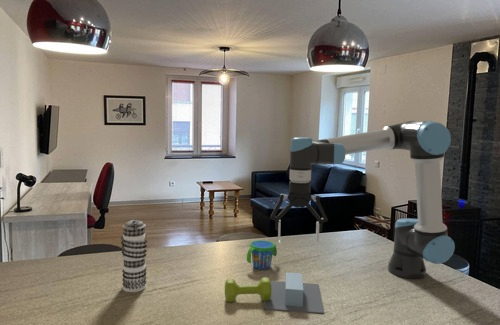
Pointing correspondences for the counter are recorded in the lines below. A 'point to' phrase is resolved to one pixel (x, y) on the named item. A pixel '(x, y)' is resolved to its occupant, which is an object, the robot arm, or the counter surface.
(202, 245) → the counter surface
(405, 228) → the robot arm
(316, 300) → the mat
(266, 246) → the snack cup
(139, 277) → the patterned white cylinder
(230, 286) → the dumbbell
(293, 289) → the block
